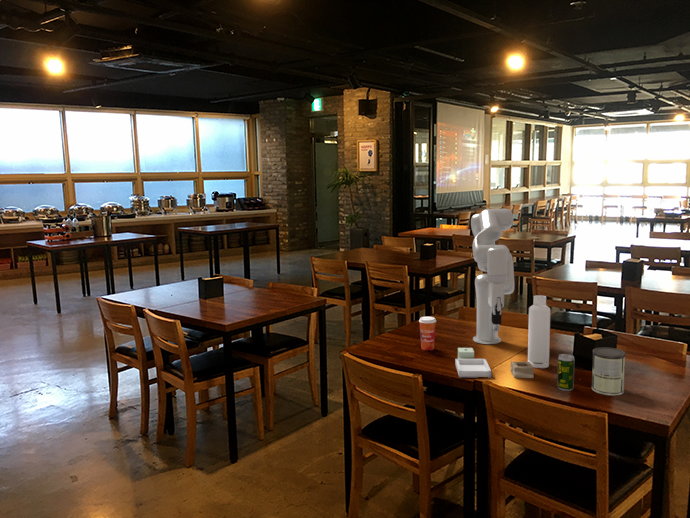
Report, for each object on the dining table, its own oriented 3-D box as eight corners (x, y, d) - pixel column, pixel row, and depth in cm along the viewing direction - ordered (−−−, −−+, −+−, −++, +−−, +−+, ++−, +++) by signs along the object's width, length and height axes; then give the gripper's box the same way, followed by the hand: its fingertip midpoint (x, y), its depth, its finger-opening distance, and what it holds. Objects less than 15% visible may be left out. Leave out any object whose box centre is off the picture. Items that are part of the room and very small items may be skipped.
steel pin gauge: (492, 329, 222) (493, 300, 221) (498, 329, 222) (499, 300, 220) (493, 331, 220) (493, 302, 218) (499, 331, 220) (500, 302, 218)
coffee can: (586, 385, 197) (587, 347, 195) (614, 384, 198) (615, 346, 196) (600, 396, 187) (601, 356, 185) (629, 395, 187) (631, 355, 185)
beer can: (560, 384, 198) (561, 352, 197) (575, 388, 195) (576, 355, 193) (555, 389, 194) (555, 356, 193) (570, 392, 191) (571, 359, 189)
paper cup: (417, 350, 244) (416, 319, 242) (421, 345, 251) (421, 315, 249) (434, 352, 241) (434, 320, 239) (438, 347, 248) (438, 316, 246)
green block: (457, 359, 230) (457, 347, 230) (472, 359, 230) (472, 347, 229) (459, 363, 225) (459, 351, 224) (474, 364, 224) (474, 352, 223)
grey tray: (455, 364, 223) (455, 358, 223) (485, 364, 222) (485, 358, 222) (459, 377, 209) (459, 370, 208) (491, 377, 207) (491, 371, 207)
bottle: (523, 363, 223) (524, 295, 219) (538, 360, 226) (540, 293, 222) (537, 369, 215) (539, 299, 212) (553, 366, 218) (555, 297, 215)
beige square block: (510, 371, 213) (510, 361, 213) (529, 371, 213) (529, 361, 212) (514, 377, 207) (514, 367, 206) (533, 378, 206) (533, 367, 205)
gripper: (484, 275, 226) (483, 318, 229) (490, 281, 210) (489, 328, 213) (502, 274, 225) (502, 318, 228) (510, 281, 210) (509, 328, 212)
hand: (496, 323), depth 220 cm, fingers closed on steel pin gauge, 2 cm apart
